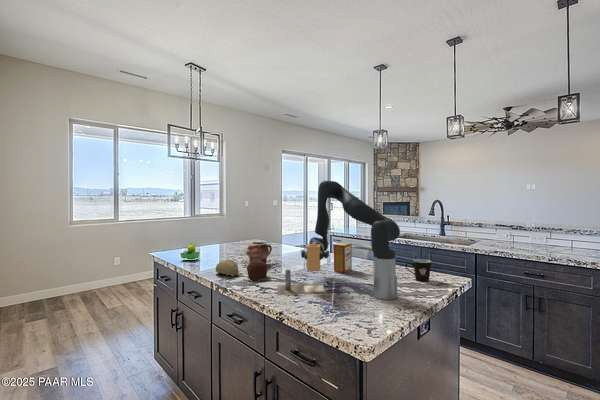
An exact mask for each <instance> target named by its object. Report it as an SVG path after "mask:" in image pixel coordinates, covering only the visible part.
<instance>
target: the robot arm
mask: <svg viewBox="0 0 600 400" xmlns="http://www.w3.org/2000/svg"><path fill="white" fill-rule="evenodd" d="M328 199H335V200H336V201H338V202H340V203H341V205H342V208H343V209H342V210H343V211H344V212H345V213H346V214H347V215H349V216H350V217H351V218H353V219H354V220H356V221H358V222H361V223H364V224H366V225H369V226H371V227H370V241H371V242H370V243H371V250H372V253H373V297H375V298H376V299H379V300H385V301H387V300H388V301H390V300H394V299H398V275H396V274H397V273H396V251H395V250H394V249H391V248H390V246H389V243H390V242H392V241H395V240H398V238H399V236H400V234H401V230H400V226H399V225H398V223H396V221H394V220H392V219H390V218H389V217H387V216H386V215H384V214H381V213H380V212H378V211H377V210H375V208H372V207H371V206H369V204H367V203H365V202H364V201H363V200H361V199H360V198H359V197H357V196H355V195H354V194H353V193H351V192H349V191H348V190H347V189H346V188H345V187H344V186H342V184H340V183H339V182H338V181H334V180H322V181H321V182H320V183H319V186H318V190H317V217H316V222H315V223H316V224H315V227H314V233H315V234H316V235H318V236H321V238H320V237H315V236H314V237H311V238H310V239H309V241H308V244H320V261H321V260H323V259H328V258H329V257H330V250H328V247H329V239H328V233H329V232H328V231H329V225H330V216H329V213H328V208H327V201H328ZM300 256H301V258H302V259H303V258H304V259H305V260H306V261H307V251H305V250H304V249H301V250H300Z"/></svg>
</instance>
